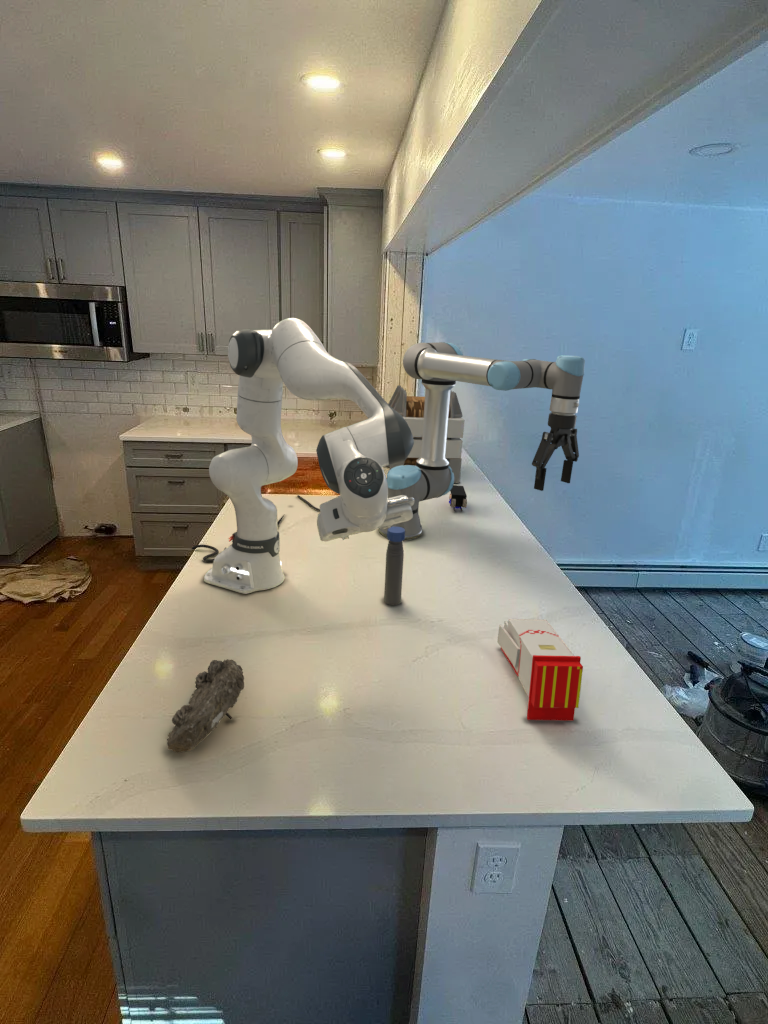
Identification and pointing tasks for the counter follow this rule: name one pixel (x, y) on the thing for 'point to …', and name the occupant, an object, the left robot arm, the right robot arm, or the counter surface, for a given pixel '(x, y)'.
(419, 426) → the light boxy container
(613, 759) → the counter surface
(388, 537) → the cap
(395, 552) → the bottle
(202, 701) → the fossil
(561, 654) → the toy
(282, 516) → the feather
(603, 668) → the counter surface
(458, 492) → the figurine character
